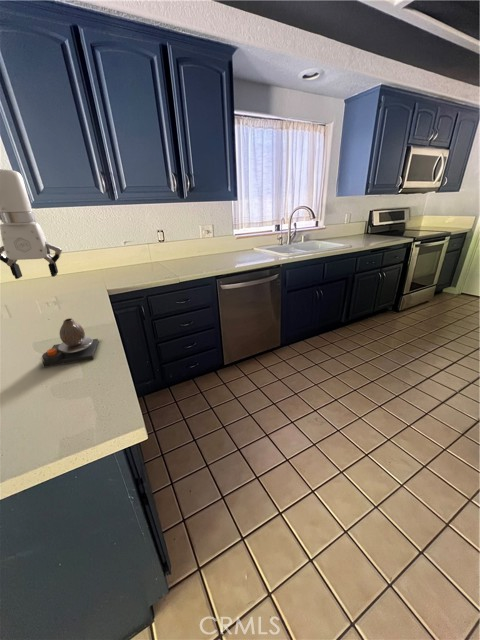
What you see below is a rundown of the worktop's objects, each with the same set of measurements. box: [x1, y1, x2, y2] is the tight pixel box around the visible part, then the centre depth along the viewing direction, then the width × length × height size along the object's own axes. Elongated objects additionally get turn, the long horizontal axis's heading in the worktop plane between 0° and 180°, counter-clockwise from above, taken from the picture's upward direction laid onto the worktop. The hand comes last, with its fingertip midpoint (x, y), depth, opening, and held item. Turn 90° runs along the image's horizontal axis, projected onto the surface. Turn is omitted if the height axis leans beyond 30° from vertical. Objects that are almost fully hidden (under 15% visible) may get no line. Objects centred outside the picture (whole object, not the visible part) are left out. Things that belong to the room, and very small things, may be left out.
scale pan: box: [58, 336, 93, 353], centre depth 89 cm, size 10×10×1 cm
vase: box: [59, 317, 86, 346], centre depth 87 cm, size 7×7×9 cm
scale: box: [41, 338, 99, 368], centre depth 89 cm, size 14×12×3 cm
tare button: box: [46, 347, 58, 356], centre depth 84 cm, size 3×3×2 cm
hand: (37, 276), depth 83 cm, fingers open, 9 cm apart
